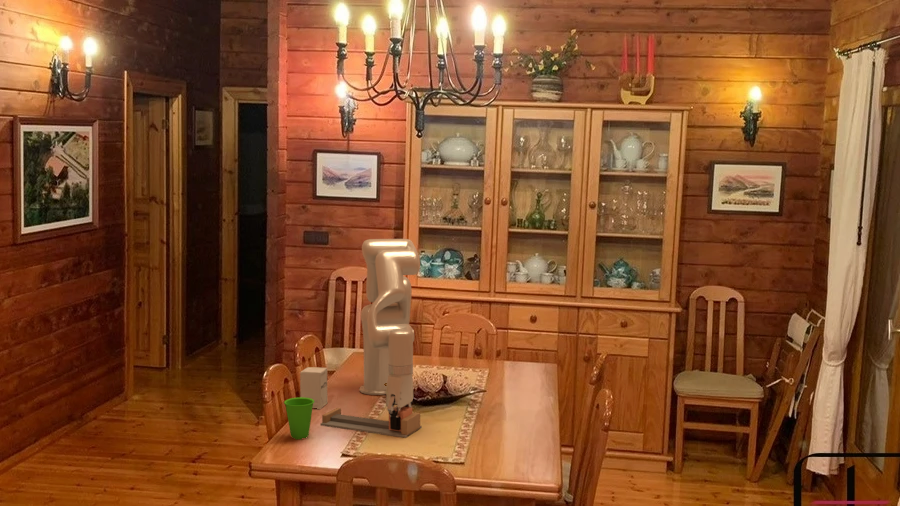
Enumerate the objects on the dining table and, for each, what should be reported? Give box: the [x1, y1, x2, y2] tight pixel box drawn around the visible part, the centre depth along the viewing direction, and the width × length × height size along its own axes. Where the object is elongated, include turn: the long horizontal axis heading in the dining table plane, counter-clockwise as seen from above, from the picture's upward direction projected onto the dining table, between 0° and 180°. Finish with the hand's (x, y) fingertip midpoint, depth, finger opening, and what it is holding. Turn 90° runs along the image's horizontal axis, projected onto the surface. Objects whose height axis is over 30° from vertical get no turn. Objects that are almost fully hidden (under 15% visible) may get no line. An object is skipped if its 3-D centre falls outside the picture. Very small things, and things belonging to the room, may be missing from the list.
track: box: [320, 407, 422, 439], centre depth 285 cm, size 11×30×5 cm, turn 66°
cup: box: [283, 396, 314, 440], centre depth 275 cm, size 9×9×11 cm
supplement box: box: [299, 366, 328, 410], centre depth 307 cm, size 7×7×13 cm
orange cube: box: [388, 406, 413, 431], centre depth 281 cm, size 6×5×6 cm
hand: (400, 425), depth 281 cm, fingers closed on orange cube, 6 cm apart
